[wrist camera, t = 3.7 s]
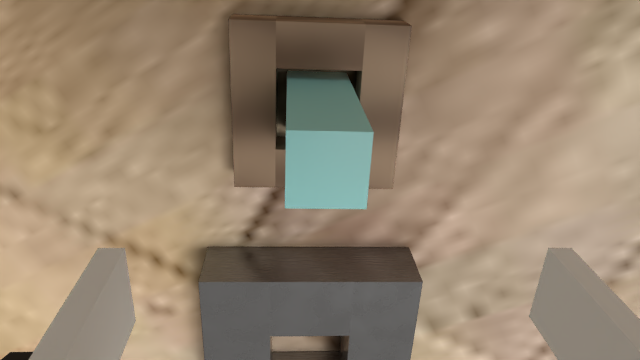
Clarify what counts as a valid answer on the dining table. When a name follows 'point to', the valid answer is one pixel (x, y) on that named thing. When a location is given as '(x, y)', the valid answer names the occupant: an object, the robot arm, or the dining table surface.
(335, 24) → the brown flat piece
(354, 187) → the peg
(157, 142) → the dining table surface
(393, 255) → the port
